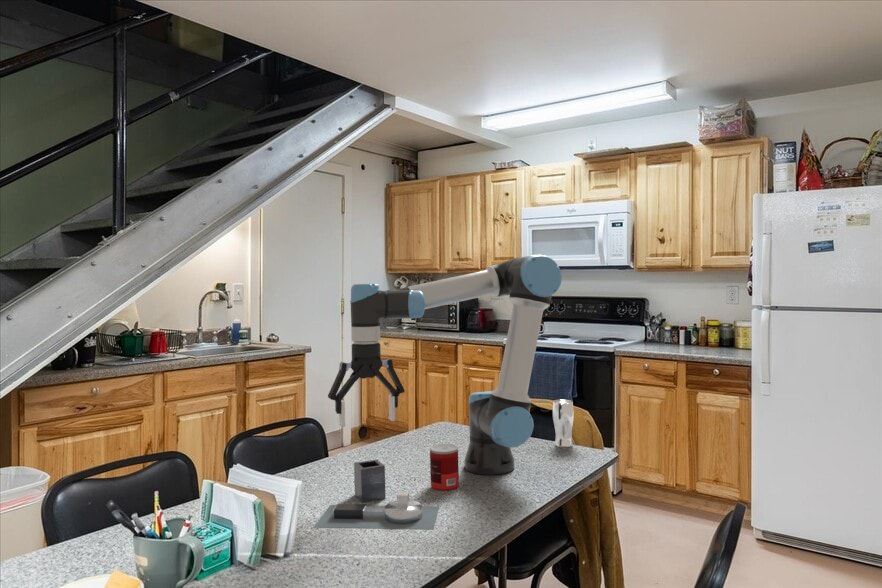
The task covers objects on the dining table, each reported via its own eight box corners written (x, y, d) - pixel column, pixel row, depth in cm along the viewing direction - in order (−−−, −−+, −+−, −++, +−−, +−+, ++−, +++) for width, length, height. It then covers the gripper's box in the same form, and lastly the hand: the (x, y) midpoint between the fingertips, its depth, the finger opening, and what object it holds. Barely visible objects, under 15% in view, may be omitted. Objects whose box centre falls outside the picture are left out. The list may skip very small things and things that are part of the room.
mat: (439, 507, 148) (439, 506, 148) (433, 531, 134) (433, 529, 134) (330, 506, 151) (330, 504, 151) (313, 529, 137) (313, 527, 137)
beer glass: (576, 447, 199) (575, 403, 199) (555, 448, 199) (554, 403, 199) (571, 442, 206) (571, 399, 206) (551, 442, 206) (550, 399, 206)
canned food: (462, 483, 166) (461, 444, 166) (453, 493, 158) (452, 452, 158) (436, 481, 168) (435, 443, 168) (426, 490, 161) (425, 450, 161)
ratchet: (424, 509, 146) (423, 487, 146) (419, 524, 137) (419, 500, 137) (339, 508, 148) (338, 486, 148) (328, 523, 139) (328, 499, 139)
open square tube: (377, 492, 160) (376, 459, 160) (385, 500, 155) (384, 465, 154) (354, 496, 158) (354, 462, 158) (361, 504, 152) (361, 469, 152)
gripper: (405, 338, 164) (406, 415, 164) (315, 343, 154) (317, 425, 154) (415, 340, 157) (416, 420, 158) (322, 346, 147) (323, 431, 147)
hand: (367, 423), depth 156 cm, fingers open, 13 cm apart
